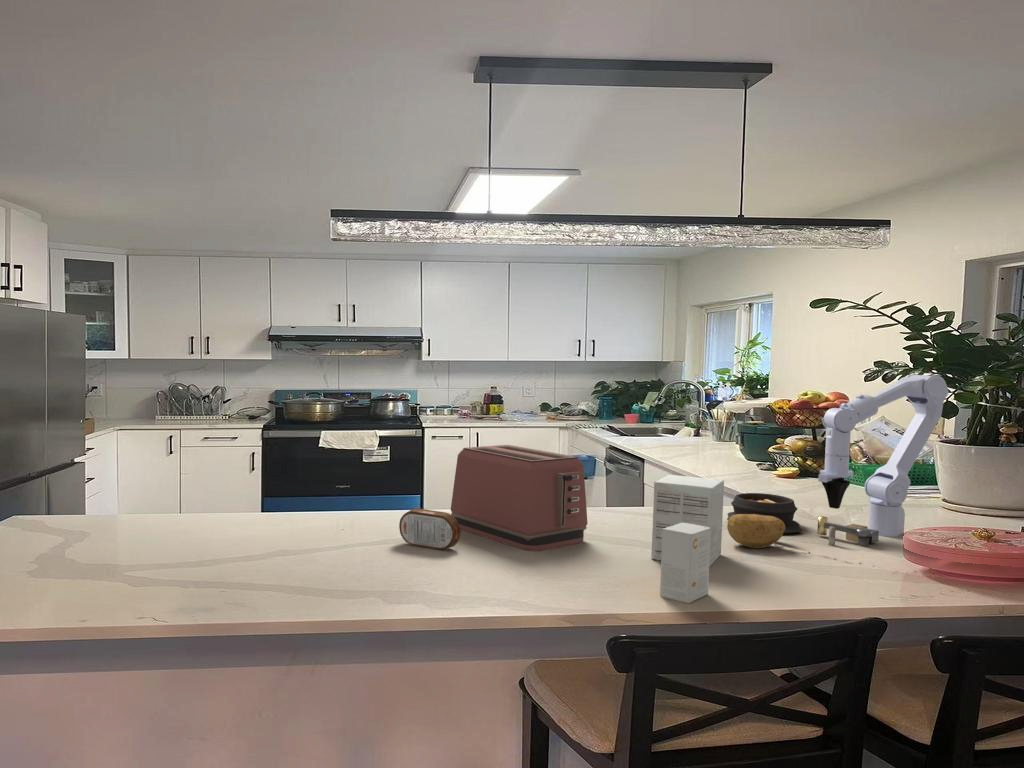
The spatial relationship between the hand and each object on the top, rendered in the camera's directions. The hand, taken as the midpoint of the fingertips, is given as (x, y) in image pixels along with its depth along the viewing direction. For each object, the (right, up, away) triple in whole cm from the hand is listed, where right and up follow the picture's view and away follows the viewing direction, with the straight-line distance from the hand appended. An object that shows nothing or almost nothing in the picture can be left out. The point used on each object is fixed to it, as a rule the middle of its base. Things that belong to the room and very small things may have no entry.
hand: (834, 507), depth 202 cm
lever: (0, -6, -7) cm, 9 cm away
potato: (-24, -8, -12) cm, 28 cm away
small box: (-50, -9, -52) cm, 73 cm away
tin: (-102, -6, -22) cm, 104 cm away
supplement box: (-43, -8, -23) cm, 50 cm away
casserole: (-16, -7, +9) cm, 19 cm away
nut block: (+3, -7, -7) cm, 10 cm away
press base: (0, -8, -9) cm, 12 cm away
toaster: (-81, -6, -6) cm, 81 cm away
